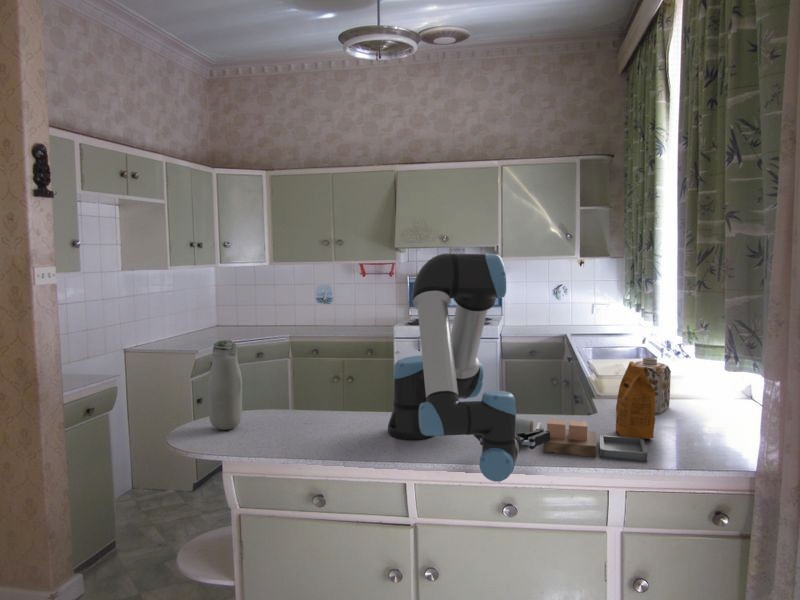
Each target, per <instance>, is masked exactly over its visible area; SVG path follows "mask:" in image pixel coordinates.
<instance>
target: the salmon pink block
mask: <svg viewBox="0 0 800 600" xmlns="http://www.w3.org/2000/svg"><path fill="white" fill-rule="evenodd" d="M546 427H547V428H546V431H550V437H551V438H563V439H565V435H566V429H567V420H566V419H555V418H548V419H547V422H546Z"/></svg>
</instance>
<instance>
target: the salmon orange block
mask: <svg viewBox="0 0 800 600" xmlns="http://www.w3.org/2000/svg"><path fill="white" fill-rule="evenodd" d="M568 422H569V423H568V430H569V439H574V440H586V441H587V431H588V421H581V420H580V421H578V420H569V421H568Z"/></svg>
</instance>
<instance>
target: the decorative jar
mask: <svg viewBox="0 0 800 600" xmlns="http://www.w3.org/2000/svg"><path fill="white" fill-rule="evenodd" d="M634 363H635V364H636V366H637V367H643V368H646V369H648V372H647V373H645V375H646V377H647V379H648V380H649V382H650V384H651V385H652V387H653V389H654V391H655V412H654V414H657V415H660V414H662V413H664V411H666V410H667V409H668V408H669V407H670V401H671V400H670V399H671V398H670V397H671V375H672V374H671V373H672V370H671V369H670V366H669V365H667V364H665V363H661V362H658V360H657V358H655V357H643V358H642V361H641V360H639V361H635V362H634Z"/></svg>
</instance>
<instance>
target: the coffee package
mask: <svg viewBox="0 0 800 600" xmlns="http://www.w3.org/2000/svg"><path fill="white" fill-rule="evenodd" d="M647 372H648V369H646V368H643V367H637V366H636V364H635V362H634V361H629V364H628V365H627V368H626V370H625V372H624V373H623V374H624V375H623V376H622V379H621V381H620V385H619V386H618V387H619V388H618V393H617V397H616V398H617V399H616V400H617V401H616V405H615V411H616V412H615V417H616V418H615V419H616V420H615V432H617V433H618V435H619V437H632V438H643V439H644V440H650V439H654V429H655V424H656V417H655V413H654V412H655V391H654V389H653V387H652V385H651V384H650V382H649V380H648V379H647V377H646V375H645V373H647Z"/></svg>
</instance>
